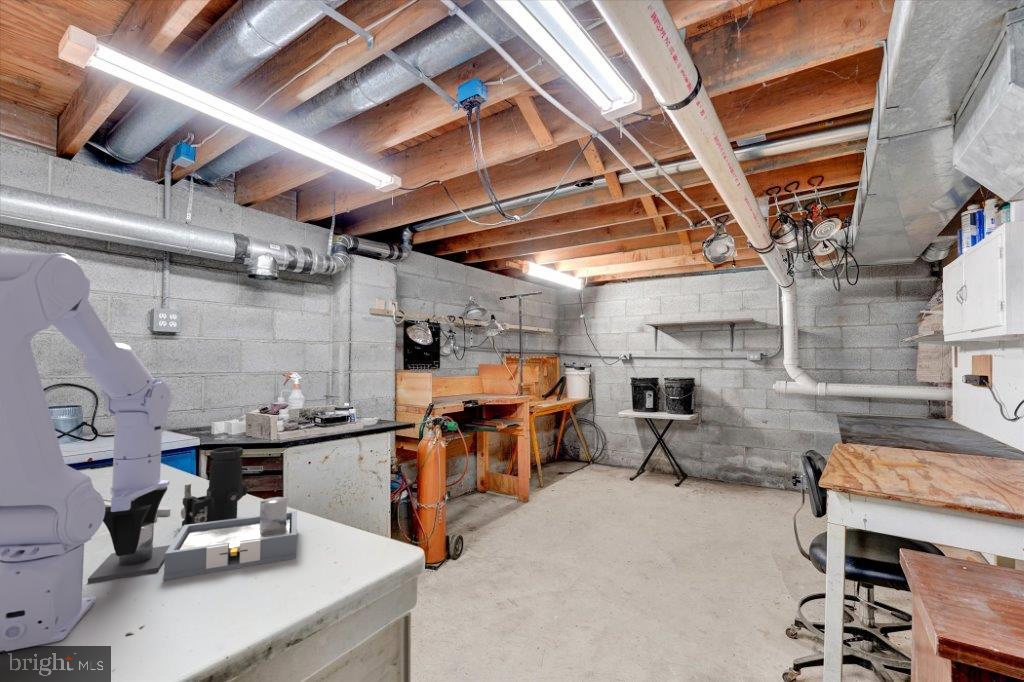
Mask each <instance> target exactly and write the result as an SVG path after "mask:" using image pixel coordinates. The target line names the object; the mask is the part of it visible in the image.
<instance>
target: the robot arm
mask: <svg viewBox="0 0 1024 682" xmlns="http://www.w3.org/2000/svg"><path fill="white" fill-rule="evenodd" d="M90 291H91V280H90V279H89V278H88V276H87V275H86V274H85V272H84V270H83V268H82V267H81V265H80V263H79V262H78V261H77V260H76V259H75V258H74V257H72V256H70V255H69V254H67V253H63V252H49V253H38V252H37V253H36V252H35V253H34V252H8V251H7V252H3V251H0V650H5V651H6V652H10V651H15V650H20V649H25V648H30V647H36V646H40V645H46V644H51V643H56V642H59V641H62V640H64V639H65V638H66V637H67V636H68V634H69V633H70V632H71V631H72V630H73V628H75V626H76V624H77V623H78V622H79V621H80V620H81V619H82V617H83V616H84V615H85V614H86V612H87V611H88V610H89V609H90V608H91V607H92V605H93V604H94V603H95V601H96V600H97V599H96V598H97V597H95V596H91V597H85V598H84V597H83V585H84V584H83V583H84V581H83V579H84V560H85V559H84V557H85V556H84V555H85V554H84V553H85V544H86V543H88V542H89V541H91V540H92V537H94V535H95V534H96V533H97V532H98V530H99V529H100V528H101V526H102V523H103V524H104V525H105V526H106V528H107V530H108V532H109V535H110V538H111V541H112V546H113V550H114V553H116V556H123V555H130V554H134V553H135V552H136V549H137V546H138V543H139V538H140V532H141V528H142V524H143V523H145V522H150V523H153V524H154V525H155V522H154V521H155V517H156V513H157V510H158V507H159V506H160V504H161V502H162V499H163V498H164V496H165V494H166V493H167V491H168V487H169V485H170V480H169V479H163V480H162V479H161V469H162V468H161V465H162V464H161V463H162V462H161V461H162V438H163V437H162V433H163V425H165V424H166V421H167V420H168V419H167V417H168V411H169V409H170V407H171V404H172V401H173V394H172V391H171V387H170V385H169V384H168V383H167V382H165V381H163V379H160V378H154V377H153V375H152V374H151V373H150V372H149V370H148V368H147V367H146V366H145V365H144V363H143V362H142V361H141V360H140V359H139V357H138V356H137V355H136V353H135V351H134V350H133V349H132V347H131V346H130V345H128V344H125V343H122V342H115V341H114V338H113V337H112V336H111V334H110V333H109V331H108V330H107V328H106V326H105V325H104V323H103V321H102V320H101V318H100V317H99V315H98V314H97V312H96V310H95V309H94V307H93V305H92V303H91V302H90V300H89V296H90ZM51 326H53V327H54V328H56V329H57V330H58V332H60V333H61V334H62V335H63V337H65V338H66V339H67V340H68V341H70V343H71V344H73V345H74V346H75V347H76V348H77V349H78V350H79V351H80V352H81V353H82V354H83V355H84V356H85V357H84V358H83V359H82V369H83V370H84V371H85V372H86V373H87V374H88V375H89V377H90V378H91V379H92V380H93V381H94V382H95V383H96V384H97V385H98V386H99V387H100V388H101V390H100V391H101V395H102V396H103V399H104V400H103V402H104V407H105V410H106V411H107V412H109V413H110V414H111V415H113V416H114V433H113V434H114V436H113V439H114V440H113V457H112V458H113V459H112V460H113V462H112V482H111V483H112V486H111V487H110V490H109V491H110V494H111V499H110V500H111V507H105V503H104V500H103V498H104V497H103V496H102V494H100V492H99V491H97V490H96V489H95V487H94V486H93V482H92V478H91V477H90V476H89V475H86V474H85V473H84V472H81V471H79V470H78V469H76V468H73V467H72V466H69V465H68V464H66V463H65V460H64V456H63V453H62V450H61V445H60V442H59V439H58V436H57V432H56V427H55V425H54V421H53V419H52V415H51V411H50V409H49V408H50V407H49V404H48V401H47V398H46V395H45V390H44V387H43V383H42V380H41V377H40V373H39V370H38V367H37V366H38V365H37V362H36V360H35V359H36V358H35V356H34V352H33V350H32V349H33V348H32V345H31V341H32V340H33V338H34V337H35V336H36V335H37V334H38V333H39V332H41V331H45V330H48V329H49V328H50V327H51Z"/></svg>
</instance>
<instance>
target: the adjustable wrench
mask: <svg viewBox="0 0 1024 682" xmlns="http://www.w3.org/2000/svg"><path fill="white" fill-rule="evenodd" d="M103 500H104V503H105V507H111V499H109V498H104V497H103ZM169 516H171V507H170V506H167V505H164V504H161V505H159V507H158V510H157V513H156V517H155V521H154V523H155V522H158V517H169Z"/></svg>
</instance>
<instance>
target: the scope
mask: <svg viewBox="0 0 1024 682" xmlns="http://www.w3.org/2000/svg"><path fill="white" fill-rule="evenodd" d="M243 454H244V449H243V448H242V447H238V446H233V447H232V446H230V447H221V448H219V447H218V448H216V449H215V448H214V449H212V450H210V453H209V458H210V459H212V460H211V461H210V466H209V479H208V480H209V481H208V487H207V490H206V495H203V496H198V497H196V496H193V495H192V489H191V488H192V484H191V483H189V484H188V483H187V484H185V485H184V491H183V492H184V494H183V495H184V497H183V498H182V505H183V508H181V510H180V516H181V518H182V519H183V520H182V522H181V528H182V527H183V526H184V525H188V524H196V523H204V522H212V521H220V520H228V519H236V518H238V502H239V501H240V500H241V499H242V498H243V497H244V496H246V495H247V494H248V492H249V491H248V490H249V487H248V486H247V485H246V484H245V483H243V458H242V456H243Z"/></svg>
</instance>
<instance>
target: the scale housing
mask: <svg viewBox="0 0 1024 682" xmlns="http://www.w3.org/2000/svg"><path fill="white" fill-rule="evenodd" d="M297 517H298V511H297V510H294V511H293V510H292V511H287V519H290V532H289V534H284V535H277V536H270V537H263V538H256V539H249V540H242V541H240V552H238V553H237V555H235V556H231V553H229V542H228V543H222V544H215V545H208V546H201V547H194V548H187V549H180V548H181V546H182V545H183V543H184V542H185V540H186V538H187V537H188V535H189V533H190V532H194V531H201V530H209V529H216V528H224V527H232V526H239V525H247V524H254V523H260V515H254V516H253V515H251V516H245V517H239V518H238V517H237V518H236V519H228V520H220V521H212V522H204V523H196V524H188V525H184V526H183V527H182V526H181V529H180V531H178V533H177V534H176V536H175V538H174V539H173V540H172V542H171V543H170V544H169V545H170V547H169V548H168V550H167V551H166V553H165V561H164V563H163V565H164V567H163V576H162V577H163V578H162V581H167V580H173V579H179V578H185V577H191V576H197V575H202V574H204V575H205V574H211V573H216V572H221V571H227V570H232V569H233V570H234V569H238V568H239V569H240V568H246V567H251V566H257V565H262V564H269V563H276V562H281V561H286V560H287V561H288V560H293V559H297V544H298V543H297V540H298V539H297V536H298V533H297V531H298V528H297V527H298V525H297V524H298V523H297V521H298V520H297V519H298V518H297Z"/></svg>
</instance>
